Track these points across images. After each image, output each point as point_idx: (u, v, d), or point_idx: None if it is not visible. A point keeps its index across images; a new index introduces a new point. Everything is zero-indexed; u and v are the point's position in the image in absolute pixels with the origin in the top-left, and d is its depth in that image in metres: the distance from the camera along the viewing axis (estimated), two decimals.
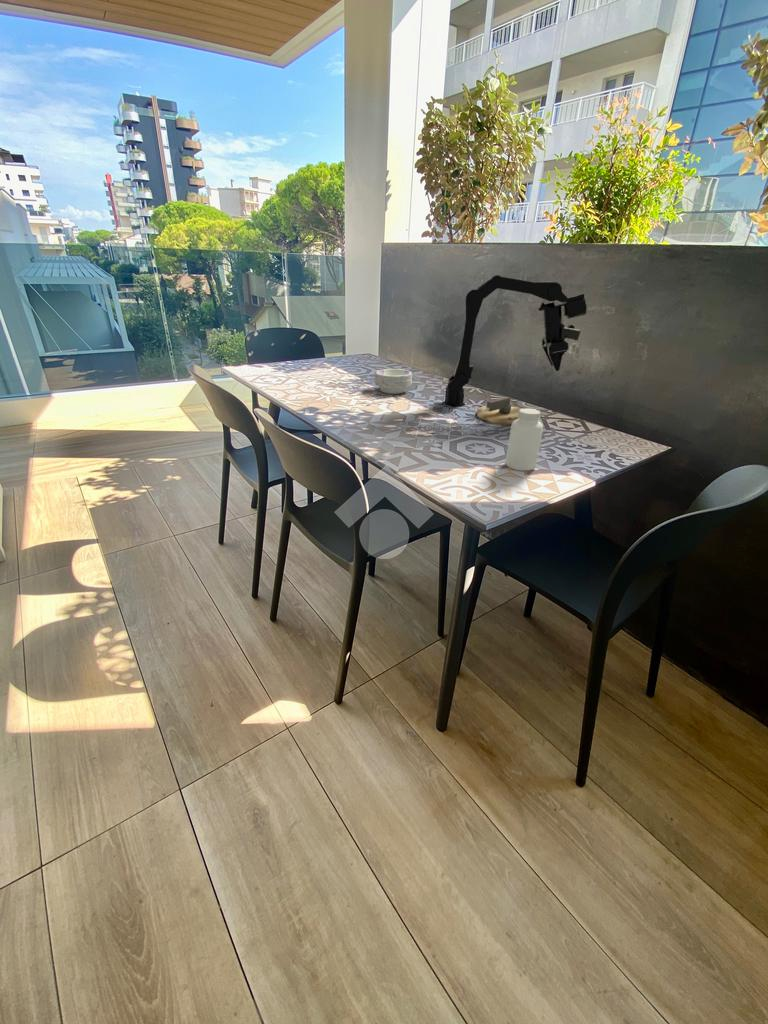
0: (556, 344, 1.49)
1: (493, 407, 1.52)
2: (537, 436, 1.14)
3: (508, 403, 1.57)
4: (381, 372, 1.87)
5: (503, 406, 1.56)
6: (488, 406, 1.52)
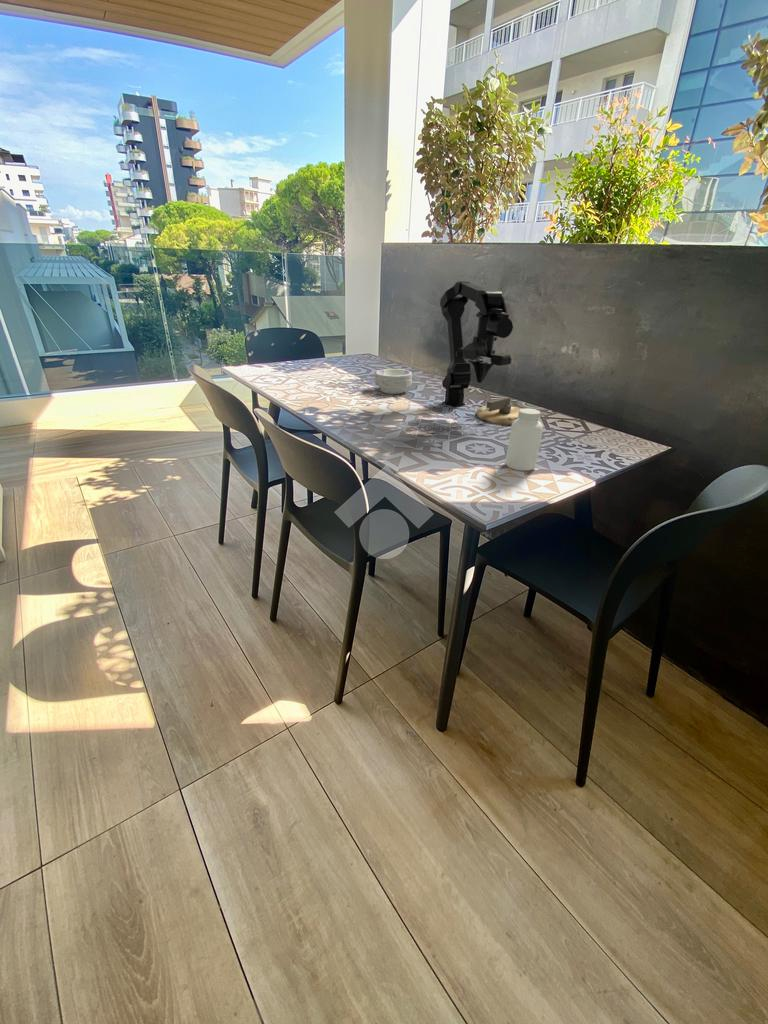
0: None
1: (493, 407, 1.52)
2: (537, 436, 1.14)
3: (508, 403, 1.57)
4: (381, 372, 1.87)
5: (503, 406, 1.56)
6: (488, 406, 1.52)
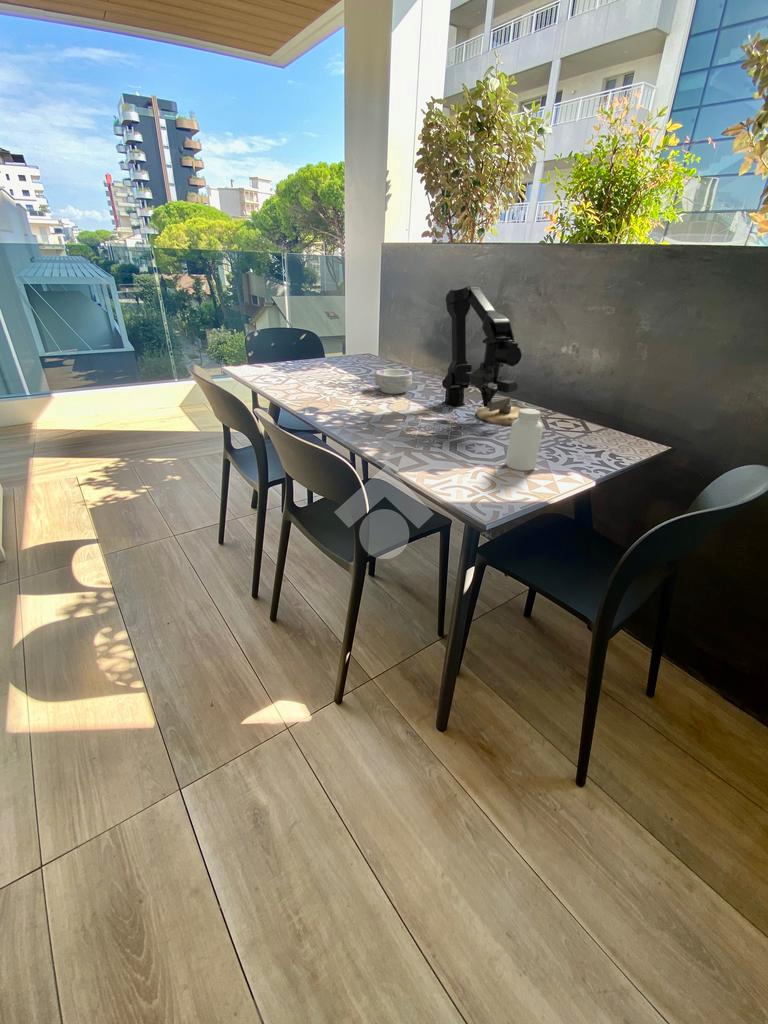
0: None
1: (493, 407, 1.52)
2: (537, 436, 1.14)
3: (508, 403, 1.57)
4: (381, 372, 1.87)
5: (503, 406, 1.56)
6: (488, 406, 1.52)
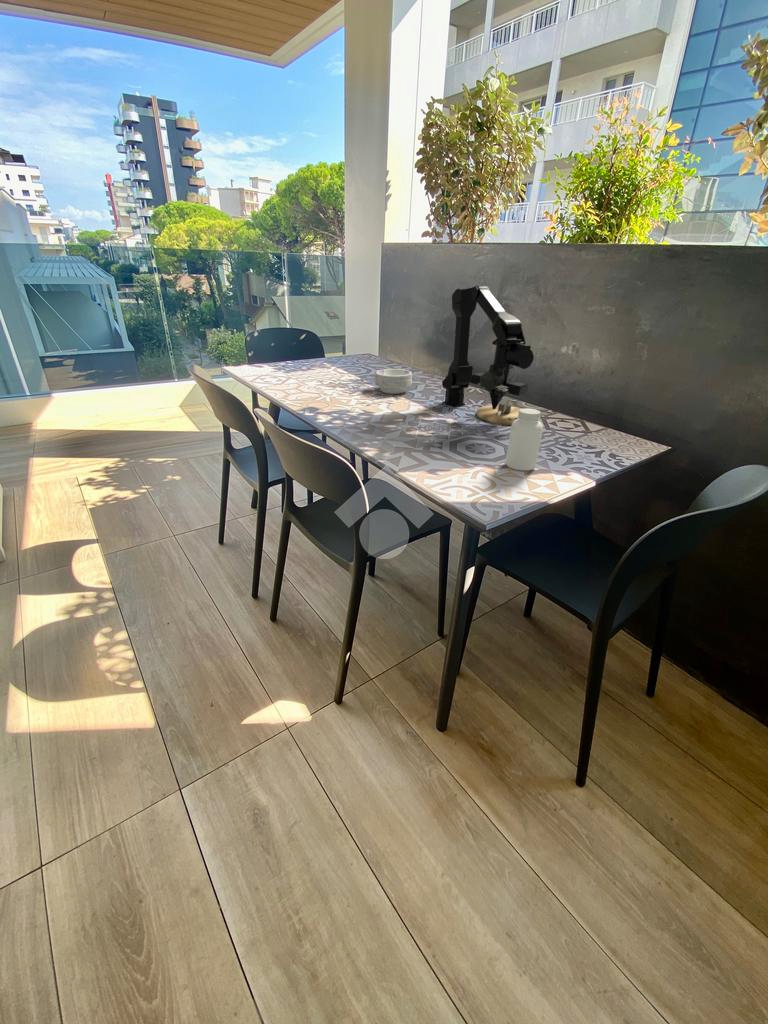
0: None
1: (504, 409, 1.50)
2: (537, 436, 1.14)
3: (508, 403, 1.57)
4: (381, 372, 1.87)
5: (507, 406, 1.55)
6: (500, 409, 1.49)
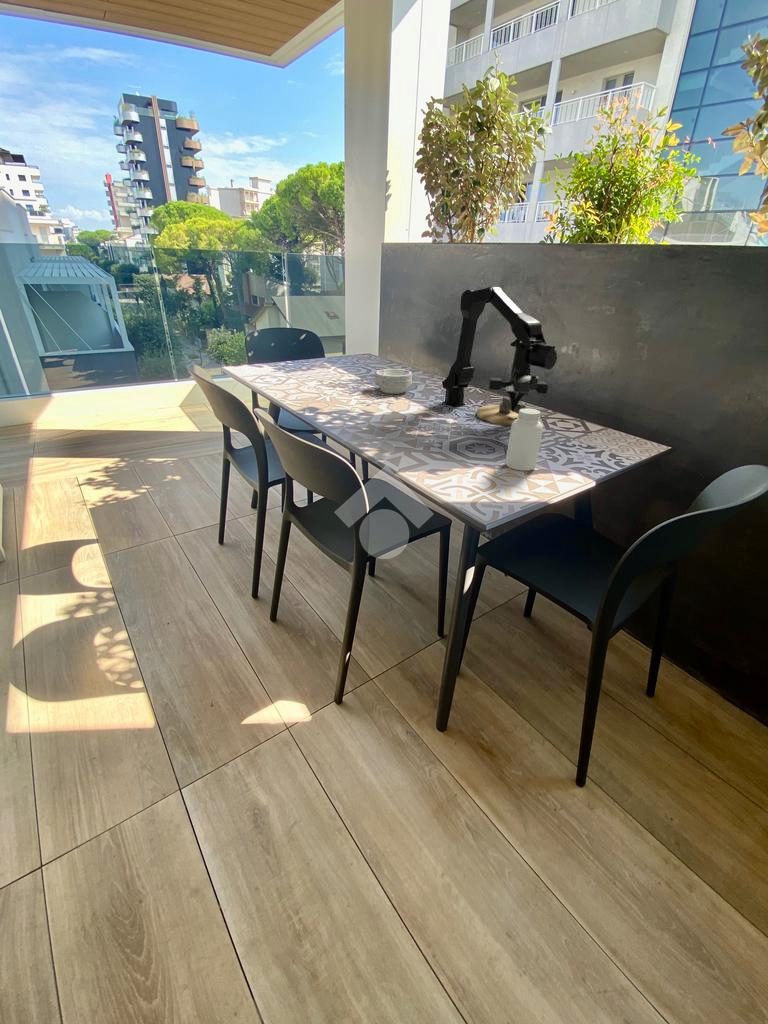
0: (489, 379, 1.47)
1: None
2: (537, 436, 1.14)
3: None
4: (381, 372, 1.87)
5: None
6: None
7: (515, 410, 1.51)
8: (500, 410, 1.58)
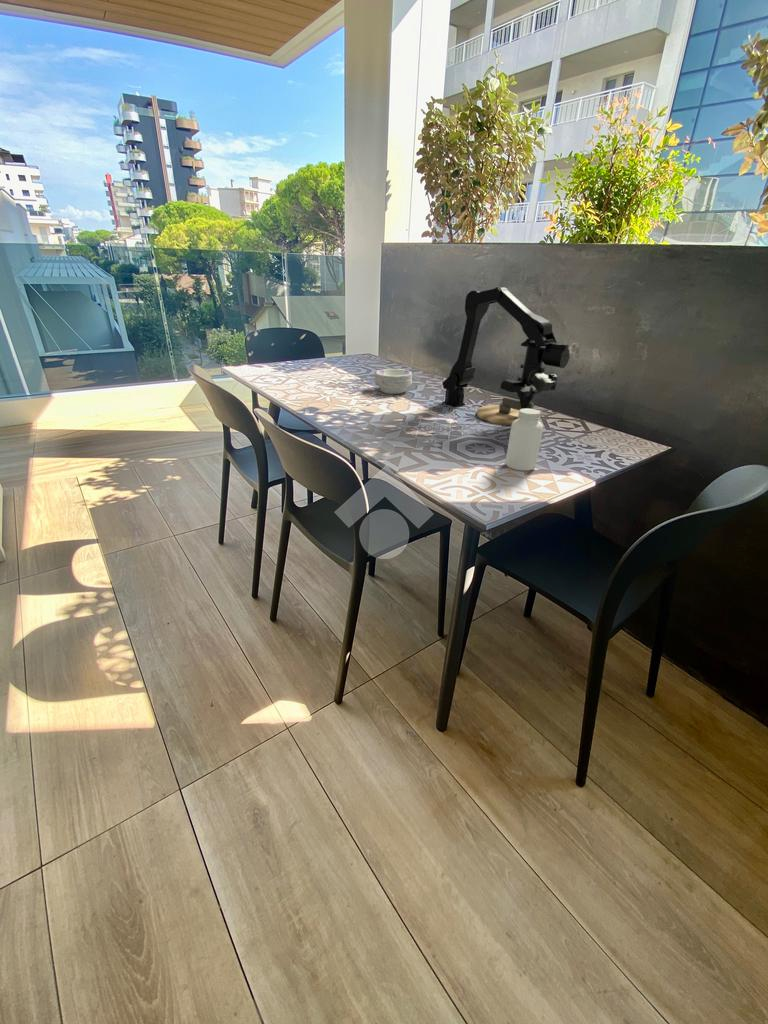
0: (505, 382, 1.44)
1: None
2: (537, 436, 1.14)
3: None
4: (381, 372, 1.87)
5: None
6: (532, 407, 1.52)
7: None
8: (502, 411, 1.57)
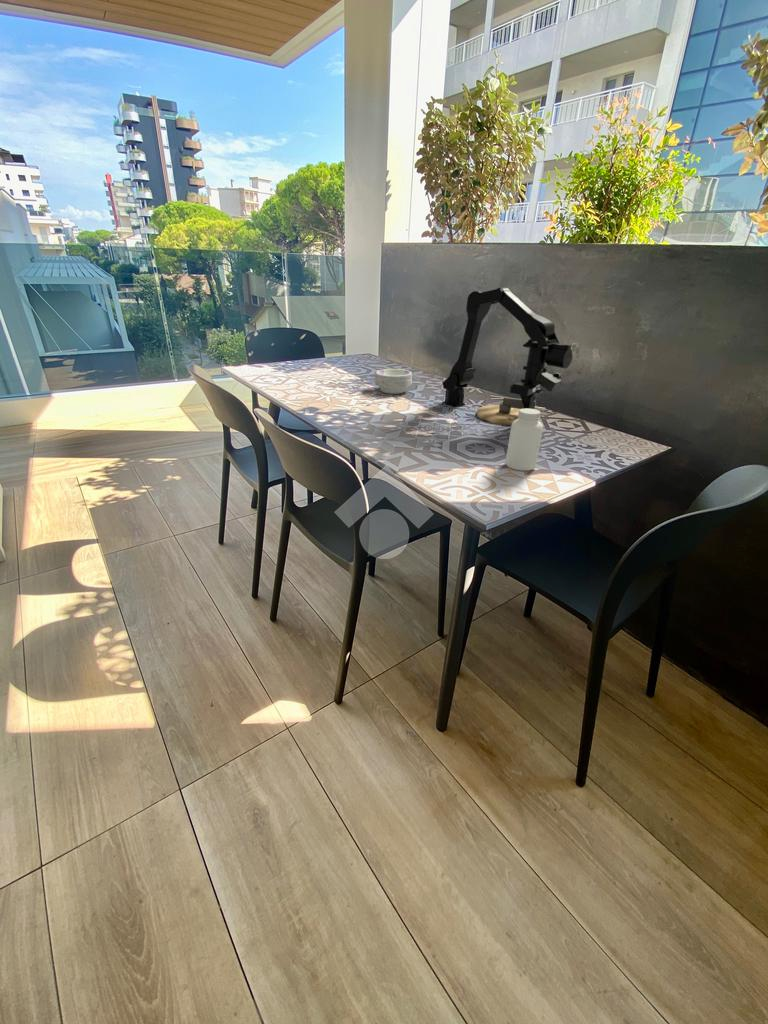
0: (517, 386, 1.41)
1: None
2: (537, 436, 1.14)
3: None
4: (381, 372, 1.87)
5: None
6: (534, 405, 1.54)
7: None
8: (504, 411, 1.57)
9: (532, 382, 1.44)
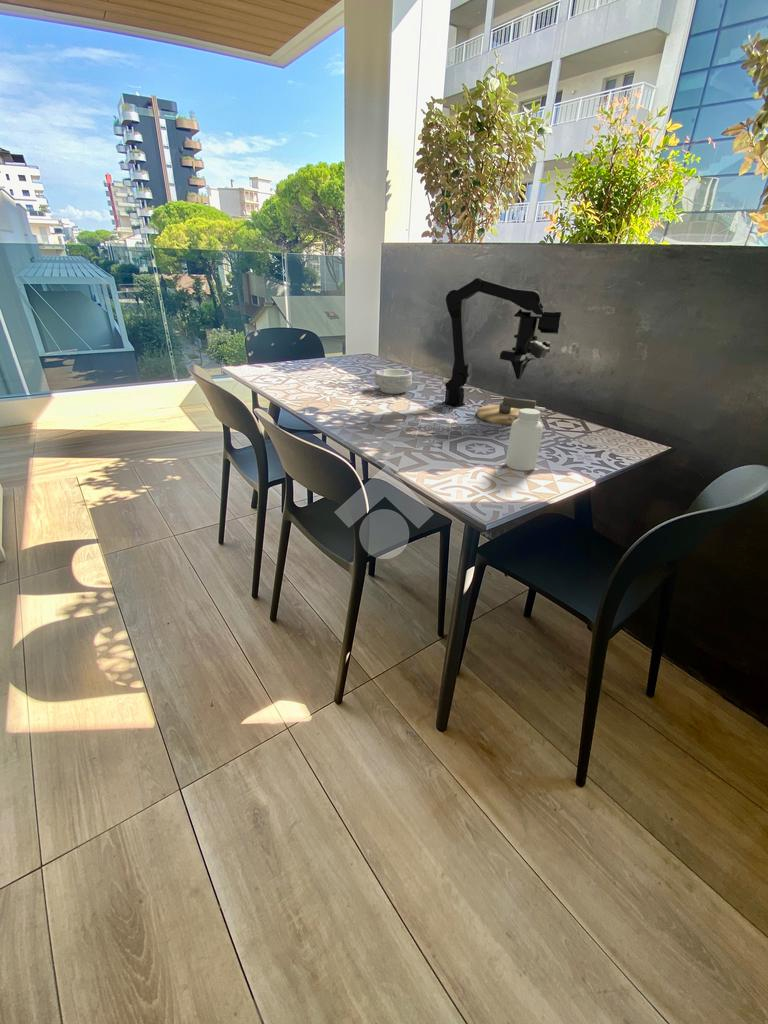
0: (505, 352, 1.50)
1: None
2: (537, 436, 1.14)
3: None
4: (381, 372, 1.87)
5: None
6: (534, 405, 1.54)
7: (527, 407, 1.55)
8: (504, 411, 1.57)
9: (522, 350, 1.52)
